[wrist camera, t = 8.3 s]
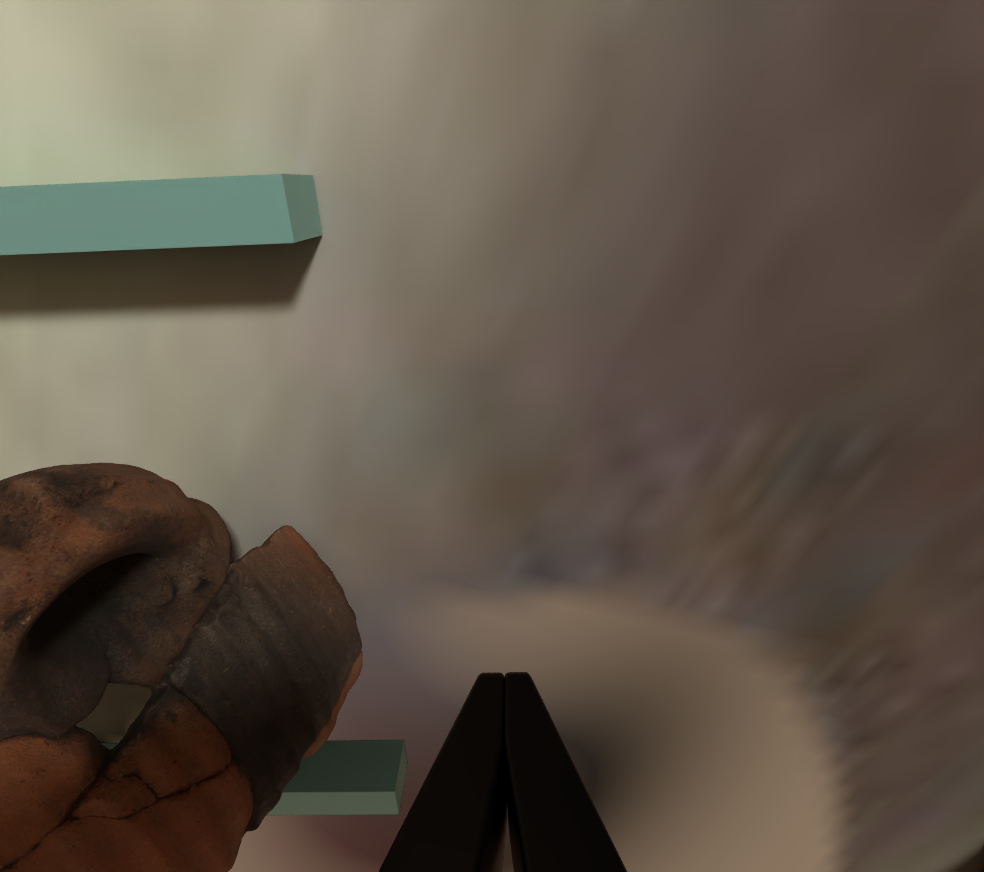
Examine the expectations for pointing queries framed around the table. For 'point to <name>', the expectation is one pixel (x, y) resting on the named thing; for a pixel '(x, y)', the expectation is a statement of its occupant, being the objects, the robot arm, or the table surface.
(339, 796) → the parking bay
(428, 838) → the robot arm
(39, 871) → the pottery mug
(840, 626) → the table surface
